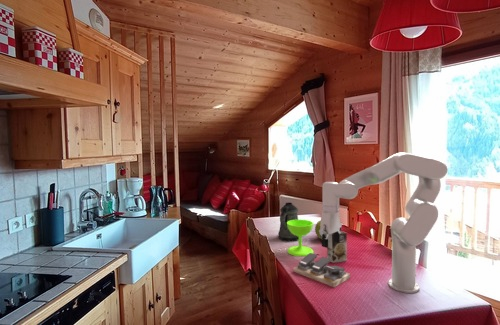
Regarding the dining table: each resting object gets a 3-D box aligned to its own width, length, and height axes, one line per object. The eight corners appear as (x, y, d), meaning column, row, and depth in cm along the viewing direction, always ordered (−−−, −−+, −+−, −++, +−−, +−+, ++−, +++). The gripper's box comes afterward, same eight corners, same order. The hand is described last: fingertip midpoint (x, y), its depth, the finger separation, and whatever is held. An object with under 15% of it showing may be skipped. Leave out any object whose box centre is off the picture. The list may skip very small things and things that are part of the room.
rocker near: (336, 268, 147) (336, 265, 147) (344, 270, 144) (344, 268, 144) (325, 268, 141) (325, 266, 141) (333, 271, 137) (333, 269, 137)
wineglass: (313, 257, 171) (313, 226, 170) (286, 255, 175) (285, 226, 174) (313, 247, 187) (313, 219, 186) (288, 246, 190) (287, 219, 189)
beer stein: (300, 234, 215) (300, 200, 214) (303, 243, 196) (302, 206, 195) (278, 234, 217) (277, 200, 216) (278, 242, 198) (277, 206, 196)
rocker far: (310, 254, 159) (309, 252, 159) (317, 256, 156) (316, 254, 155) (299, 264, 153) (298, 262, 152) (306, 266, 149) (305, 264, 149)
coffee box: (332, 263, 162) (332, 234, 161) (326, 259, 168) (326, 231, 167) (347, 261, 165) (347, 232, 164) (340, 257, 171) (340, 229, 170)
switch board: (310, 263, 162) (309, 254, 162) (350, 277, 144) (349, 267, 144) (293, 271, 153) (293, 262, 152) (334, 287, 135) (334, 276, 135)
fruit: (338, 244, 193) (327, 225, 191) (319, 248, 201) (308, 229, 199) (343, 230, 206) (333, 212, 204) (325, 234, 214) (315, 217, 212)
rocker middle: (322, 258, 153) (322, 256, 153) (330, 261, 150) (329, 258, 149) (311, 269, 147) (311, 266, 147) (319, 271, 143) (318, 269, 143)
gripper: (333, 204, 145) (333, 238, 146) (313, 210, 134) (313, 247, 135) (347, 206, 140) (347, 242, 141) (327, 212, 128) (327, 251, 129)
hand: (330, 244), depth 138 cm, fingers open, 9 cm apart
